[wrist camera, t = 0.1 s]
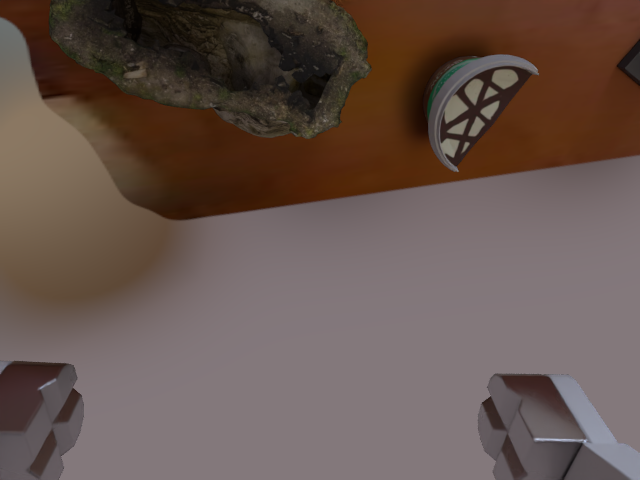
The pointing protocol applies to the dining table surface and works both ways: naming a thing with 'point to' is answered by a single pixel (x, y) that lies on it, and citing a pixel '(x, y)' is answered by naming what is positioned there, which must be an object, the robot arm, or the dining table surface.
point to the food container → (469, 101)
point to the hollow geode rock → (223, 56)
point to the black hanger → (632, 63)
